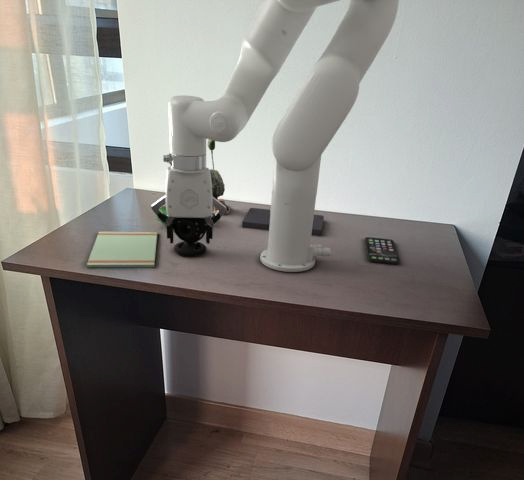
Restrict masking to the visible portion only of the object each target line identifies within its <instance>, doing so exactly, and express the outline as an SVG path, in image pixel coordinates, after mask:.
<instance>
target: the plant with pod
mask: <svg viewBox="0 0 524 480" xmlns="http://www.w3.org/2000/svg"><path fill="white" fill-rule="evenodd" d="M206 145H207V147H208V150H209V151H210V153H211V154H210V155H211V163H212V168H209V170H210V174H211V181H212V196H213V197H214V198H215V199H217V200H218V201H219V202H220V203H222V204H223V205H224V206H226V211H225V213H224V214H223V215H226V214H229V213H230V212H231V207H230V205H228V204H226V202H225V200H224V199H223V198H220V197H223V196H224V195H225V194H224V193H225V190H226V188H225V187H226V186H225V185H226V184H225V182H224V179H223V177H222V175H221V173H220V171H218V170H216V169H215V165H214V156H213V154H214V151H215V149H216V141H213V140H210V139H207V142H206ZM218 198H219V199H218ZM217 211H218V208H216V207H215V206H214V205H213V210H212V215H214V214H215V213H217Z"/></svg>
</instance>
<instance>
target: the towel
mask: <svg viewBox="0 0 524 480" xmlns="http://www.w3.org/2000/svg"><path fill="white" fill-rule="evenodd" d="M157 243H158V232H157V231H98V233H97V236H96V239H95V242H94V244H93V247H92V249H91V251H90V255H89V258H88V260H87V262H86V268H155V266H156V256H157V255H156V253H157V245H158V244H157Z"/></svg>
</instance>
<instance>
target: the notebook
mask: <svg viewBox="0 0 524 480" xmlns="http://www.w3.org/2000/svg"><path fill="white" fill-rule="evenodd" d="M270 212H271V209H267V208H257V207H250V208H249V209H248V211H247V213H246V214H245V216H244V218H243V220H242V223H241V227H242V228H246V229H247V228H248V229H257V230H267V231H269V226H270ZM324 219H325V216H324V215H322V214H315V213H314V218H313V226H312V235H311V236H320V237H321V236H322V235H323V234H322V233H323V225H324Z"/></svg>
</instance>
